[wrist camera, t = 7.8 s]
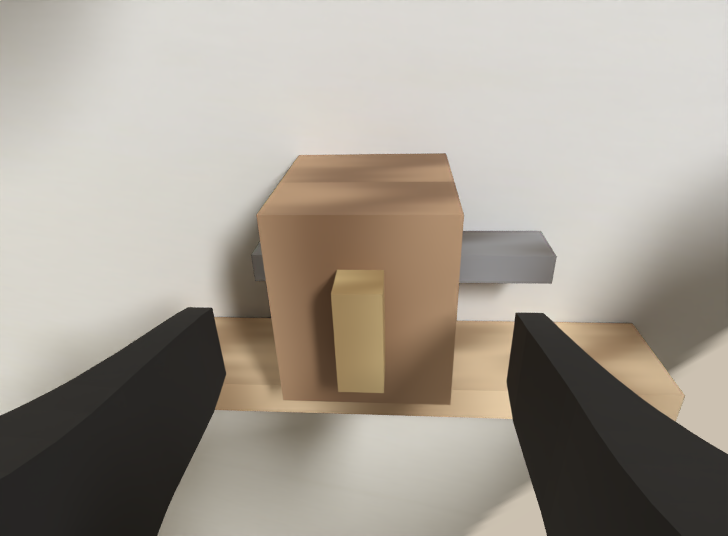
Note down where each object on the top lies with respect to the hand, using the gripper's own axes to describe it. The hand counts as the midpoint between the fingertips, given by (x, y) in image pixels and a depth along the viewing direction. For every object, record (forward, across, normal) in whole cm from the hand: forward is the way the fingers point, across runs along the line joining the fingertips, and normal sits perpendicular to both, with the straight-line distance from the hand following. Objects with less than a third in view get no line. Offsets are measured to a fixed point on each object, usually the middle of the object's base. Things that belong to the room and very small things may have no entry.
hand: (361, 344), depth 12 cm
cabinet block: (+7, 0, 0) cm, 7 cm away
